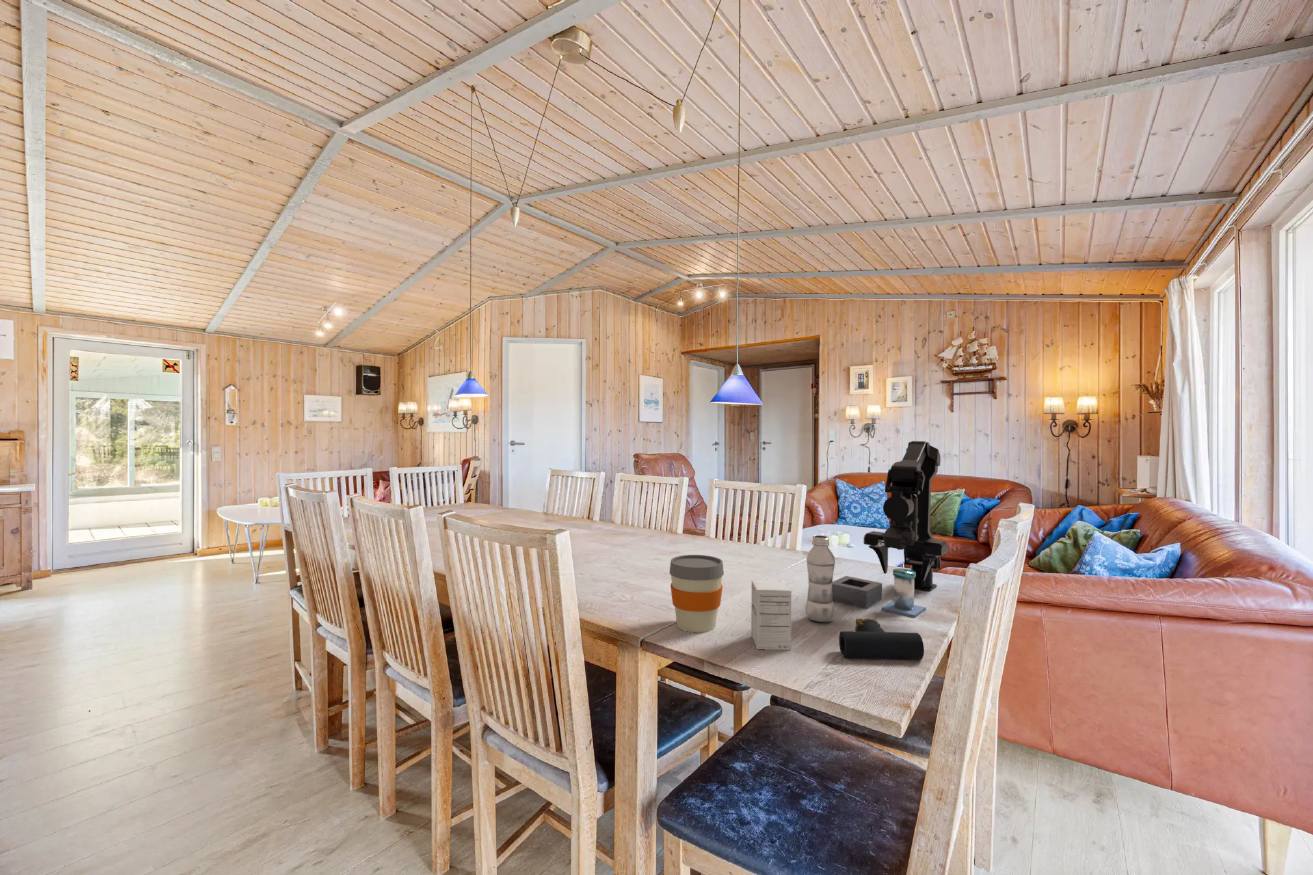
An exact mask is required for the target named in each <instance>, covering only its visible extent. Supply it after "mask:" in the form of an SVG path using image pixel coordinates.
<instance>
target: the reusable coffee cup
mask: <svg viewBox="0 0 1313 875" xmlns="http://www.w3.org/2000/svg"><path fill="white" fill-rule="evenodd" d="M724 572H725V571H724V563H723V560H722V559H721V558H719V557H716V556H710V555H704V554H685V555H684V554H683V555H678V556H675V557H673V558H671V559H670V564H669V575H670V578H671V583H670V592H671V593H670V594H671V602H672V605H673V606H674V609H675V610H674V611H675V619H676V627H677V628H678V629H680V630H681V631H684V630H686V631H685V632H687V631H688V633H694V632H701V633H707V632H710V630H711V631H713V630H715V629H716V626H717V617H718V611H719V608H720V607H721V601H722V594H723V587H724V586H723V584H722V580H723V576H724Z"/></svg>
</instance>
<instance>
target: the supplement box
mask: <svg viewBox="0 0 1313 875" xmlns="http://www.w3.org/2000/svg"><path fill="white" fill-rule="evenodd" d="M750 615H751V616H750V618H751V619H750V623H751V624H750V626H751V627H750V629H751V630H750V635H751V638H752V640H753V642H754V646H755V649H756V650H758V649H765V650H766V651H791V650H792V590H791V589H790V586H788V584H787V583H786V582H785V581H784V580H780V579H777V580H776V579H775V580H774V579H771V580H770V579H769V580H768V579H756V580H754V579H753V580H751V614H750ZM765 650H764V651H765Z"/></svg>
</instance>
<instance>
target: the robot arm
mask: <svg viewBox="0 0 1313 875" xmlns="http://www.w3.org/2000/svg"><path fill="white" fill-rule="evenodd" d="M939 467H941V453H940V450H939V449H938V448H937V447H934V446H932V445H930V442H928V441H926V440H925V441H924V440H923V441H922V440H921V441H920V440H912V441H909V442H908V444H907V448H906V450H905V454H904V456H903V458H902V459H901V460H900V461H896V462H894V463H893V464H892V465H891V466H890V468H889V469H888V471H887V477H886V481H885V487H884V492H885V493H889V494H890V495H891V496H890V497H888V498H886V500H885V501H884V503H883V505H882V506H883V507H882V508H883V512H884V515H885V516H886V517H887V518H888V519H890V522H889V523H890V524H889V527H888V528H886V529H885V532H883V531H875V530H873V531H870V532H866V533H865V534H864V536H863V545H866V546H868V548H869V549H872V550H873V551H874V552H875V554H876V556H877V558H878V561H879V564H880V566H881V569H882V572H883V574H884V575H885V574H887V573H888V569H889V565H888V564H889V549H890V548H891V549H895V550H898V551H899V550H903V560H904V566H910V570H913V571H915V572H916V578H914V589H916V590H917V589H918V590H922V591H928V592H929V591H930V592H931V591H932V590H933V589H936V588H937V587H938V585H937V584H935V583H933V582H934V580H933V579H934V570H937V569H941V567H942V565H941V564H942V562H941V561H942V560H941V557H942V556H944V555H945V554H947V553H949V544H948V543H947V541H946V540H942V539H935V538H934V536H933V535H932V533H931V507H932V506H931V503H932V502H931V501H932V480H933V479H934V478H935V476H936V475H937V473H938V471H939Z"/></svg>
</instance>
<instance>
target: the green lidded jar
mask: <svg viewBox="0 0 1313 875" xmlns="http://www.w3.org/2000/svg"><path fill="white" fill-rule="evenodd" d="M892 576H893V581H894V582H893V600H894V607H895V608H897V609H900V610H913V609H914V605H915V588H914V578H916V572H915V571H913V570H911V568H910V569H909V568H899V567H898V568H893V569H892Z"/></svg>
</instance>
